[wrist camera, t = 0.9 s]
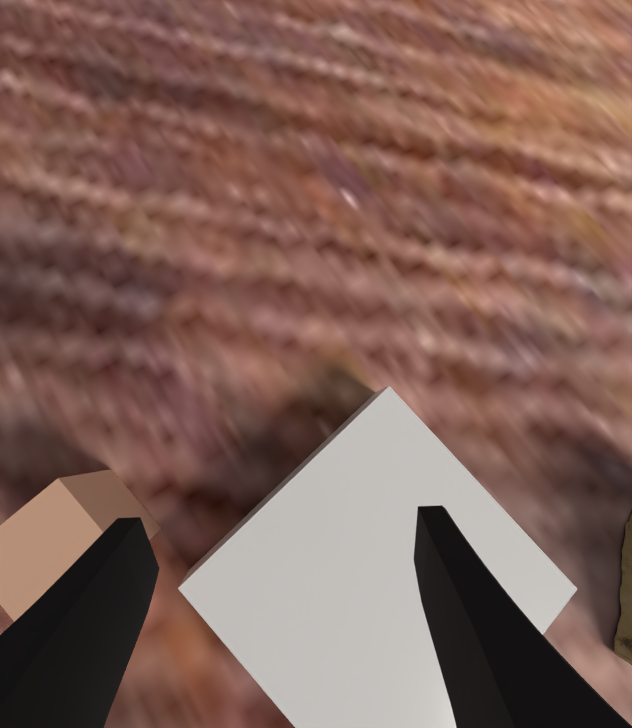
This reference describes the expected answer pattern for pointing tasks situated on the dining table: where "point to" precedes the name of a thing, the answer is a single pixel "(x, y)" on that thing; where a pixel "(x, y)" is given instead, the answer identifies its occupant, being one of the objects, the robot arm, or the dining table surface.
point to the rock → (625, 600)
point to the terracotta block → (60, 533)
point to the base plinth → (359, 575)
